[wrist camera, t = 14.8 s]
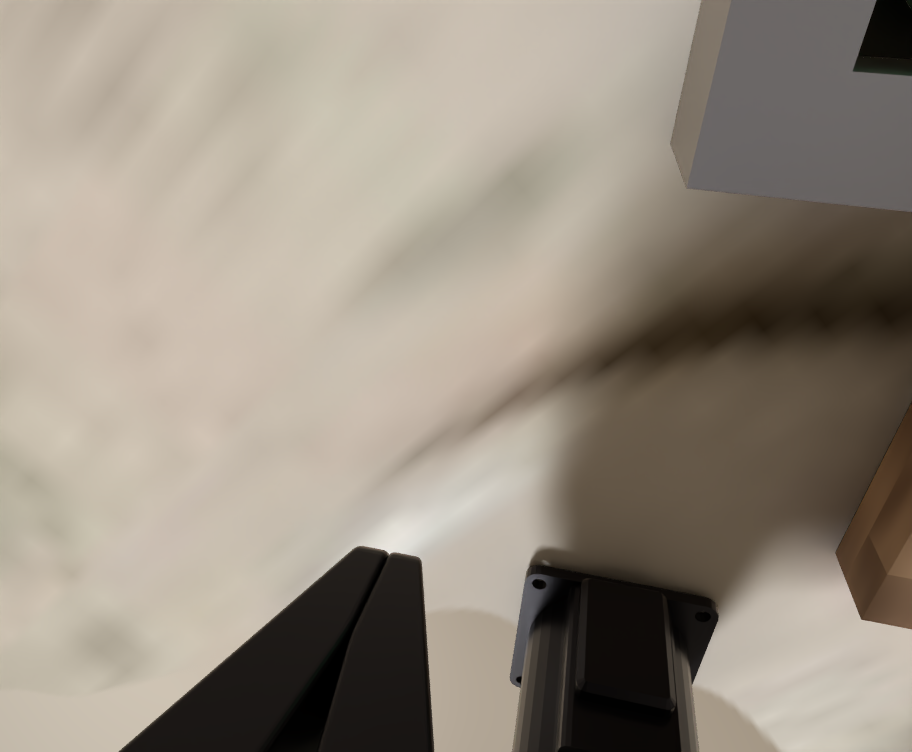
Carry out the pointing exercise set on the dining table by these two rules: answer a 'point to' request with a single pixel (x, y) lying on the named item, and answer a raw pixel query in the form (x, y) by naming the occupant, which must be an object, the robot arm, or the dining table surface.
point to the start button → (909, 3)
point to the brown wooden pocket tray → (883, 539)
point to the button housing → (794, 106)
